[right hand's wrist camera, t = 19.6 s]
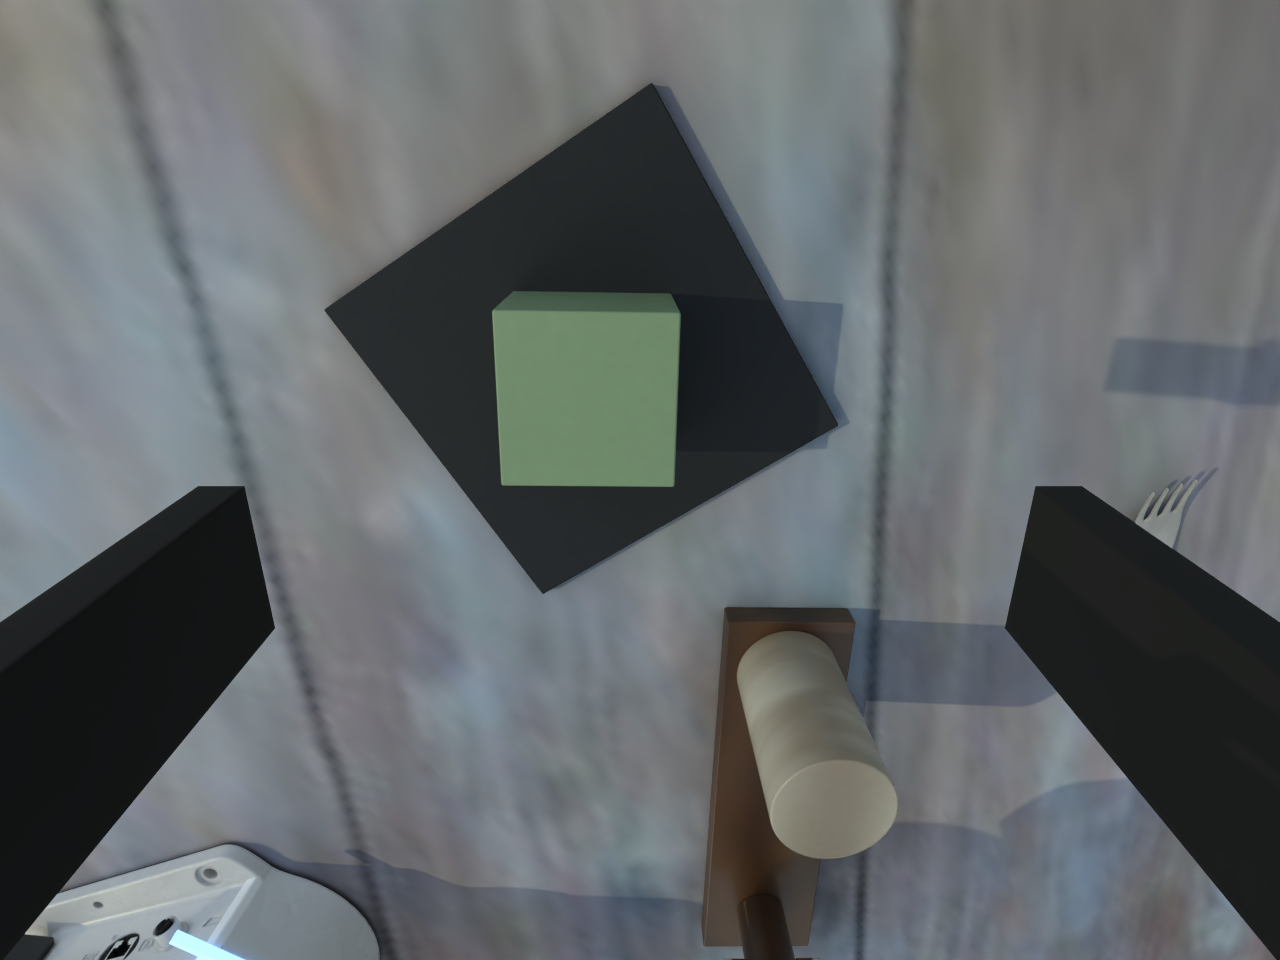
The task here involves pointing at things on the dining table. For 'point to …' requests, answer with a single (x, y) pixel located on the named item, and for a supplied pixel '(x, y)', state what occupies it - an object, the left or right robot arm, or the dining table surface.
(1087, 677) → the right robot arm
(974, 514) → the dining table surface
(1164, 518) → the fork
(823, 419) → the slate mat
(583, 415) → the sage green cube
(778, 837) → the caddy
